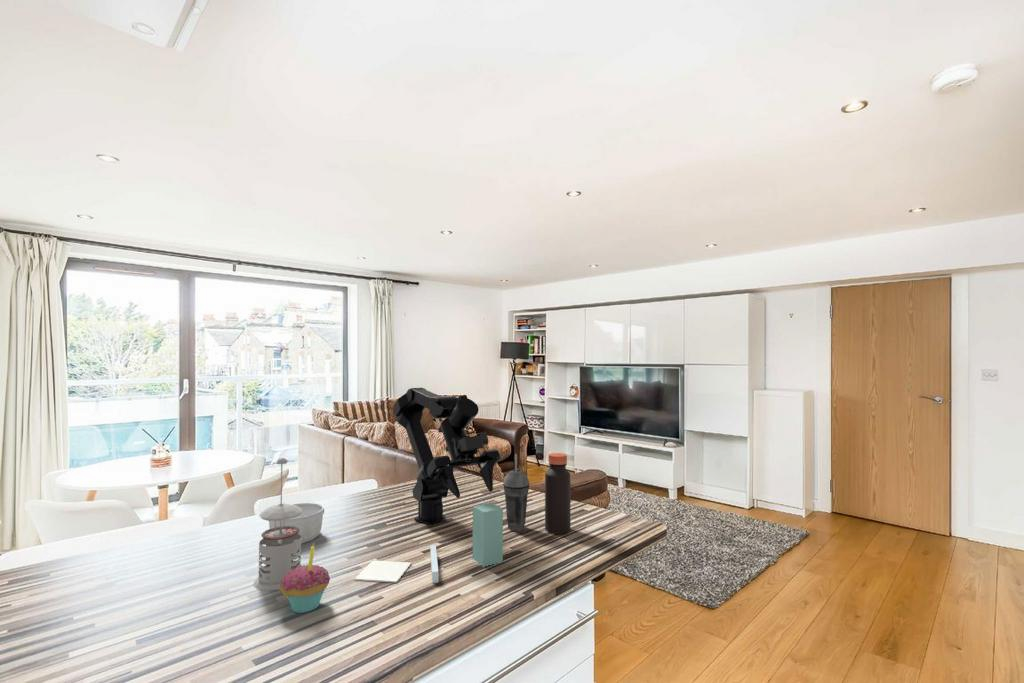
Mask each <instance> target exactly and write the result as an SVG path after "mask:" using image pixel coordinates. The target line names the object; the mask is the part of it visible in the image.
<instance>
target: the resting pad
mask: <svg viewBox="0 0 1024 683" xmlns="http://www.w3.org/2000/svg"><path fill="white" fill-rule="evenodd" d="M410 564H411V565H412V562H406V561H405V562H403V561H389V560H372V561H370V563H369V564H368V565H367V566H366V567H365V568H364V569H363V570H362V571H361V572H359V573H358V575H357V576H356V577H354V581H363V582H364V581H365V582H379V583H394V584H397V583H398V582H399V580H400V579H401V578H402V577H403V575H404V574H405V573H406V572H407V570H408V569H409V568H408V567H411V565H410ZM404 572H405V573H404ZM401 576H402V577H401Z"/></svg>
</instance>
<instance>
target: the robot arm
mask: <svg viewBox="0 0 1024 683" xmlns="http://www.w3.org/2000/svg"><path fill="white" fill-rule="evenodd" d="M425 409H427V410H429V415H431V416H432V417H433V418H434V419H436V420H439V419H443V420H442V421H441V422H440V425H439V427H438V431H437V432H438V433H439V434H442V435H443V438H444V441H445V445H446V446H445V447H444V449H445V453H446V452H447V453H448V454H449V456H448V455H440V456H434V455H433V452H432V449H431V447H430V443H429V441H428V439H427V436H426V433H425V429H424V427H423V425H422V417H423V415H424V410H425ZM392 414H393V416H394V417H395V420H396V422H397V424H398V425H399V426H401V427H402V428H404V429H405V432H406V433H407V436H408V439H409V443H410V446H411V449H412V452H413V455H414V458H415V460H416V463H417V466H418V472H417V475H416V484H415V485H414V487H413V489H412V498H413V499H414V500H416V501H418V502H417V503H418V505H417V506H418V511H417V512H418V514H417V516H416V517H414V518H413V520H414V521H416V522H421V523H424V524H427V525H431V524H435V523H438V522H439V521H442V520H445V519H446V518H447V517H446V515H444V504H443V498H447V497H448V493H449V491H450V492H451V493H452V494H453V495H454V496H455V497H456V499H460V498H461V493H460V489H459V486H458V483H457V480H456V478H455V476H454V469H455V468H462V467H469V466H476V465H477V467H478V468H479V469H480V470H479V471H478V472H479V474H480V476H481V479H482V481H483V482H484V484H485V486H486V488H487V490H488V492H489V493H492V492H493V491H494V483H493V482H494V481H493V480H494V476H493V474H494V467H495V466H496V464H498V462H499V461H500V459H502V456H501V453H500V451H499V450H498V449H496V448H494V449H487V450H483V451H482V453H481V454H480V455H478V453H479V449H484V448H485V446H487V445H489V437H488V435H487V432H486V431H481V432H479V433H476V435H470V434H469V435H468V434H467V431H466V429H467V428H468V427H469V426H470V424H471V423H472V422H473V420H474V419H475V417H476V416H477V415H478V414H479V406H478V404H477V403H476V402H475V401H473V399H470V398H468V396H467V395H466V394H464V395H463V394H462V395H461V394H460V395H459V396H458V397H457V396H454V395H453V396H452V395H451V396H450V395H449V396H448V395H447V396H446V395H445V396H444V395H439V394H437V393H434V392H432V391H429V390H427V389H426V388H424V387H411V388H408V389H407V390H406V392H405V393H404V394H403V395H401V396H400V397H398V398H397V400H396V401H395V403H394V404H393V407H392ZM475 455H477V456H475Z"/></svg>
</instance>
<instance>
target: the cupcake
mask: <svg viewBox="0 0 1024 683" xmlns="http://www.w3.org/2000/svg"><path fill="white" fill-rule="evenodd" d="M314 555H315V542H313V543H312V546H311V547H310V552H309V557H308V564H307V565H305V564H303V565H301V566H299V567H296V568H294V569H292V570H291V571H289V573H286V575H285V576H284V577H283V579H282V580H281V582H280V585H279V588H280V592H281V594H282V595H283V596H285V597H286V598H287V599H288V603H289V605H290V608H291V611H292V612H294V613H296V614H297V613H300V614H301V613H303V614H304V613H308V612H311V611H313V610H315V609H317V608H318V607H319V605H320V603H321V600H322V596H323V594H324V592H325V590H326V588H327V587H328V585H329V584H330V580H331V578H330V574H329V571H328V570H327V569H326V568H324V566H321V565H317V564H313V563H314V562H313V561H314V557H315V556H314Z"/></svg>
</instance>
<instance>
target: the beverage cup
mask: <svg viewBox="0 0 1024 683" xmlns="http://www.w3.org/2000/svg"><path fill="white" fill-rule="evenodd" d="M530 486H531V485H530V480H529V477H528V476H527V474H526V473H525V472H524V471H522V470H521V469H518V454H517V453H515V454H514V469H512V470H510V471H508V472H507V473H506V475H505V476H504V479H503V484H502V487H503V492H504V500H505V512H506V521H507V522H506V523H507V529H508V530H509V529H510V530H509V531H511V530H516V531H515V532H519V531H518V530H522V531H524V530H525V525H526V520H527V518H526V516H527V508H528V506H527V505H528V494H529V492H530ZM523 529H524V530H523Z"/></svg>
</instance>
